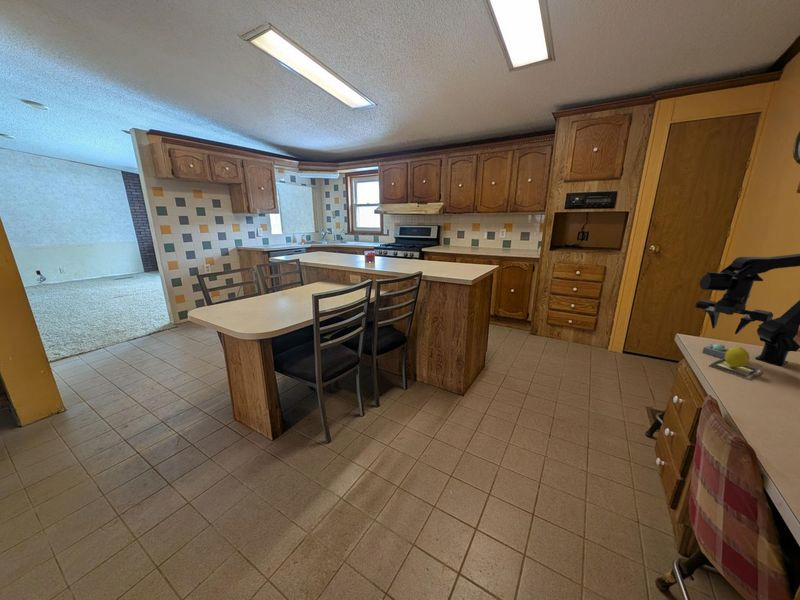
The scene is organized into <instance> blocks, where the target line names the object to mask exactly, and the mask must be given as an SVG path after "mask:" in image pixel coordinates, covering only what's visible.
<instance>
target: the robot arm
mask: <svg viewBox="0 0 800 600" xmlns="http://www.w3.org/2000/svg"><path fill="white" fill-rule="evenodd" d="M795 267H800V253H794V254H785V255H784V254H783V255H777V256H769V257H768V256H767V257H766V256H764V257H763V256H739V257H736V258H735V259H734V260H733V261H732V262H731V263H730V264H729V265H728V266H726V267H725V268H723V269H722V270H720V272H713V271H707V272H706V274H705V275H703V276H702V277H701V278H700V281H699V287H700V289H701V290H702V291H703V290H705V291H719V292H724V291H725V293H724V294H723V296H722V298H721V299H718V301H717V302H716V301H714V300H710V299H705V298H704V299H700V300H697V301H696V303H695V305H694V308H697V309H701V310H703V311H704V312H705V313H706V314H708V315H709V319H710V323H711V328H712V329H716V326H717V324H718V321H719V317H720V314H725V315H727V316H731V315H734V314H739V315H744V316H743V317H741V318H740V322H739V323H738V325H737V327H736V329H735V332H734V334H735V335H738V334H739V333H740V332H741V331H742V330H743V329H744V328H745V327H746V326H748V325H749V324H750V323H751V322H752V323H753V322H756V321H758V322H762V323H760V324H758V325H757V327H758V328H757V329H756V333H757V335H758V337H759V341H761V342H763V343H764V345H763V348H762V350H761V352H760V354H759V355H758V356H755V358H754V359H756V360H758V361H761V362H766V363H769V364H772V365H775V366H779V367H782V366H785V365H786V364H788V363H789V361H788V360H786V358H787V356H788V354H789V353H790V352H798V350H799V349H800V345H799V344H798V342H797V341H796V340H795V337H797V335H798V334H799V328H800V299H799V300H798V301H797V302H795V304H794V305H792V306H791V307H790V308H789V309H788V310H786V312H784V313H782V315H781V316H779V317H776V318H773V317H774V314H773V312H772V311H767V310H762V309H755V310H754V309H753V310H749V309H746V307H747V304H748V303H747V302H748V300H749V298H750V296H751V291H752V287H753V285H754V282H764V279H763V278H762V277H761V276H760V275H759V274H764V273H767V272H769V271H771V270H772V271H773V270H775V269H786V268H795Z"/></svg>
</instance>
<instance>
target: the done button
mask: <svg viewBox="0 0 800 600" xmlns="http://www.w3.org/2000/svg"><path fill="white" fill-rule="evenodd" d="M712 345H713V348H712V349H715V350H718V351H721V352H723V351H724V348H725V349H726V345H724V344H719V343H713V344H712Z"/></svg>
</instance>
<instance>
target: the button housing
mask: <svg viewBox="0 0 800 600" xmlns="http://www.w3.org/2000/svg"><path fill="white" fill-rule="evenodd" d="M713 345H714V344H709V345H707V346H704V347H703V350H702V354H705V355H708V356H711V357H715V358H718V359H725V354H726V352H727V351H728V350H729V349H730V348H729V349H728V348H726V347H725V348H724V351H723V352H721V351H718V350H715V349H712V348H713Z"/></svg>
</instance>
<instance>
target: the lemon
mask: <svg viewBox="0 0 800 600" xmlns="http://www.w3.org/2000/svg"><path fill="white" fill-rule="evenodd" d="M749 360H750V354H749V352H748V351H747V350H746V349H744V348H743V347H741V346H738V347H731V348H729V350H728V351H727V352H726V354H725V361H726V363H727V364H729V365H730V366H731V367H732V368H736V367H743V366H745V365H746V366H747V364H748V363H749Z"/></svg>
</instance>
